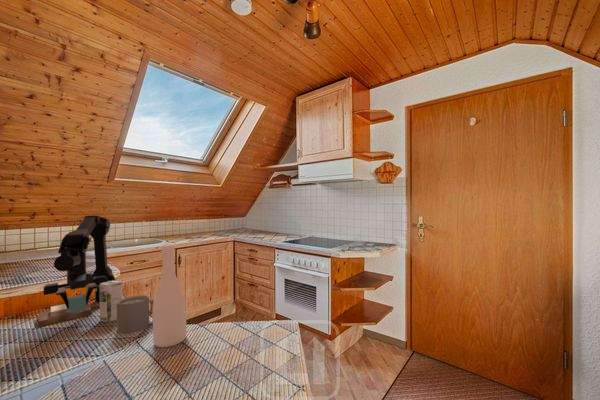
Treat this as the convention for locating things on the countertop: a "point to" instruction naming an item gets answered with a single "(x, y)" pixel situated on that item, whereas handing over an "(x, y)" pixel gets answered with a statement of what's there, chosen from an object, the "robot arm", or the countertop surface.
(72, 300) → the teal cube
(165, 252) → the wine bottle
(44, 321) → the stacking base
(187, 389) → the countertop surface
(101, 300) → the syrup box
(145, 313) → the coffee mug
